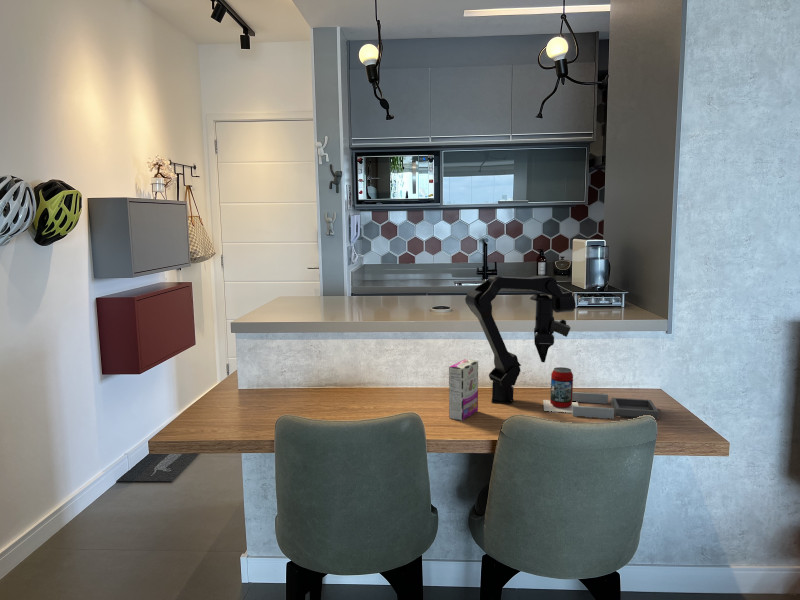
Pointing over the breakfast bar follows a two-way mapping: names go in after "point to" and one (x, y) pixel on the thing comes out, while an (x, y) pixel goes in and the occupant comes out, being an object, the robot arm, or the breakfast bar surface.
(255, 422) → the breakfast bar surface
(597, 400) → the channel walls
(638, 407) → the box
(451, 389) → the candy bar box
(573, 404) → the pad
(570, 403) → the beverage can
